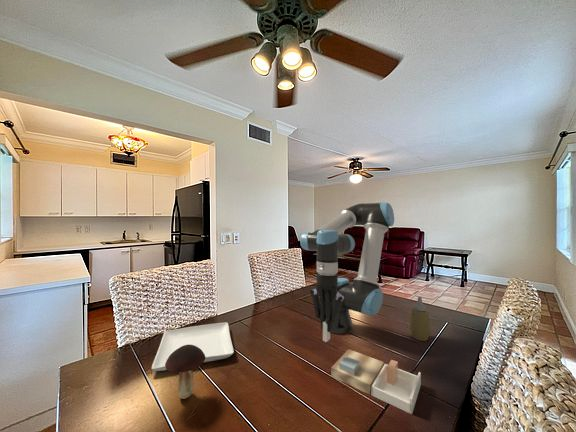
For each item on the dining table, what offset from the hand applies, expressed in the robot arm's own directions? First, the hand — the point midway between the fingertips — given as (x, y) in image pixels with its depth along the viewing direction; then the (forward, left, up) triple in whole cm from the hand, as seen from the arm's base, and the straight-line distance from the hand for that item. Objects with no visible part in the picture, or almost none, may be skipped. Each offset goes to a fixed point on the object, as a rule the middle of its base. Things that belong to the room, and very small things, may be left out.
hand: (326, 339), depth 83 cm
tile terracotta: (+19, +7, -7) cm, 22 cm away
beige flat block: (+10, +4, -10) cm, 15 cm away
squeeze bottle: (+23, +44, -10) cm, 50 cm away
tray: (+22, +4, -10) cm, 25 cm away
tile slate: (+9, 0, -7) cm, 11 cm away
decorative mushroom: (-26, -38, -10) cm, 47 cm away
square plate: (-47, -22, -11) cm, 53 cm away
